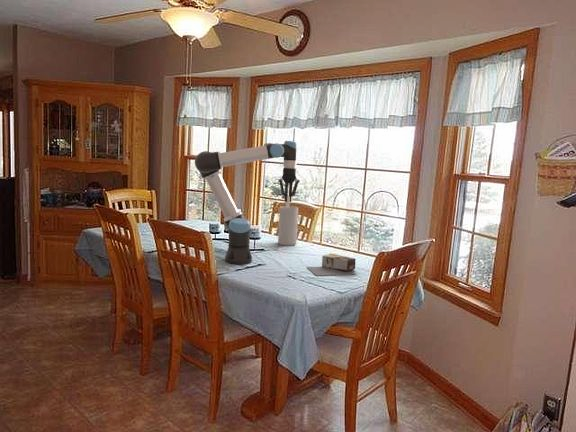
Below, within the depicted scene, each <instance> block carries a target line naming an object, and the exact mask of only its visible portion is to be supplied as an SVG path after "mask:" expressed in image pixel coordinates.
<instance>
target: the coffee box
mask: <svg viewBox="0 0 576 432" xmlns="http://www.w3.org/2000/svg"><path fill="white" fill-rule="evenodd" d="M321 267H327V268H331V269H335V270H340V271H344V272H349V271H352V272H353V271H354V270H356V258H355V257H354V258H353V257H350V256H345V255H340V254H335V253H327V254H324V255H322V260H321Z"/></svg>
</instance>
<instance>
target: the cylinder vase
mask: <svg viewBox="0 0 576 432" xmlns="http://www.w3.org/2000/svg"><path fill="white" fill-rule="evenodd" d="M278 211H279V212H278V213H279V214H278V234H277V235H278V236H277V244H278V245H281V246H289V247H291V246H296V245H297V239H298V238H297V236H298V223H299V222H298V220H299V207H297V206H293V205H292V206H291V205H289V208H286V205H281V206H279V210H278Z"/></svg>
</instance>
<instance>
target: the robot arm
mask: <svg viewBox="0 0 576 432" xmlns="http://www.w3.org/2000/svg"><path fill="white" fill-rule="evenodd" d="M297 154H298V143H297V141H295V140H294V141H293V140H284V143H272V142H268V143H264V144H263V145H261V146H260V145H259V146H255V147H249V148H248V147H247V148H243V149H236V150H232V151H231V150H230V151H225V152H220V151H212V152H211V151H207V150H205V151H201V152H200V153H198V154H197V155H196V157H195V159H194V166H195V168H196V170H197V171H198V172H199V174H200V176H201V178H202V179H204V181H206V182H207V185H208V186H209V188H210V190H211V192H212V194H213V196H214V198H215V200H216V203H217V204H218V206H219V208H220V211H221V212H222V214H223V216H224V217H223V218H224V219H223V222H224V224H225V226H226V228H227V230H228V246H227V250H226V253H225V255H224V256H225V257H224V261H225V263H227V262H228V263H227V264H231V263H232V265H248V264H251V263H252V261H253V255H252V252H251V250H250V238H251V234H250V233H251V222H250V221H249V220H248V219H246V218H245V216H244V214H243V212H242V211H239V210H238V208H237V206H236V203H235V201H234V199H233V197H232V195H231V193H230V192H229V189H228V187H227V184H226V183H225V181H224V178H223V177H222V175H221V171H222V169H223V168H224V167H230V166H234V165H240V164H246V163H247V164H248V163H252V162H257V161H259V162H260V161H262V160H269V159H277V158H279V159H280V158H283V164H282V165H283V166H282V167H283V168H282V176H281V177H280V178H278V180H277V181H278V184H279V187H280V192H281V196H284V203H285V206H286V208H289V206H291V205H290V204H291V203H292V197H294V196H295V195H296V193H297V190H298V189H297V188H298V184H299V183H300V182H301V180H300V179H299V178H297V175H296V174H297V173H296V172H297V169H296V168H297V157H298V156H297ZM283 182H284V184H283ZM293 183H294V184H293ZM293 185H294V186H293Z"/></svg>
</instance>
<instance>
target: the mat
mask: <svg viewBox="0 0 576 432" xmlns="http://www.w3.org/2000/svg"><path fill="white" fill-rule="evenodd" d="M306 268H307V270H309V271H310V272H311V273H312V274H313V275H314V276H316V277H329V276H334V275H335V276H356V273H355V272H353V270H352V271H349V272H344V271H340V270H335V269H331V268H327V267H323V266H307V267H306Z"/></svg>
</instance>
